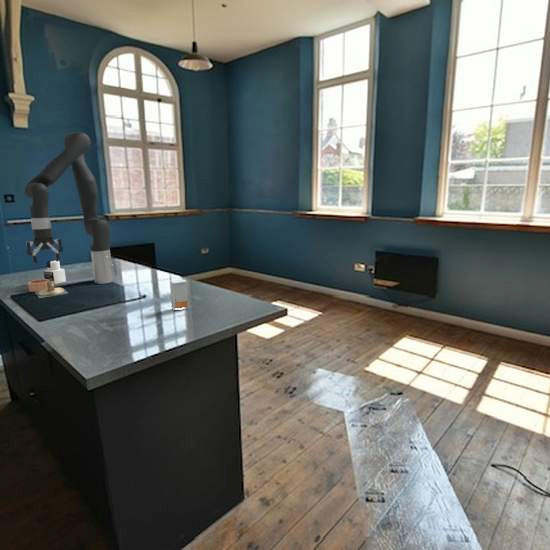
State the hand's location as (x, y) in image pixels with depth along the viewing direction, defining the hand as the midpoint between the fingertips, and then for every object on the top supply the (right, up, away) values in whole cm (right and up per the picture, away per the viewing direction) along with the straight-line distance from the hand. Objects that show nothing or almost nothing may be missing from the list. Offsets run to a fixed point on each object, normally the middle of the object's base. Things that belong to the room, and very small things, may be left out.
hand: (46, 262), depth 177 cm
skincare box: (+68, -20, -21) cm, 74 cm away
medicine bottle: (-10, -10, +25) cm, 29 cm away
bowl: (-10, -13, +11) cm, 20 cm away
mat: (0, -15, +4) cm, 15 cm away
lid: (0, -15, +3) cm, 15 cm away
